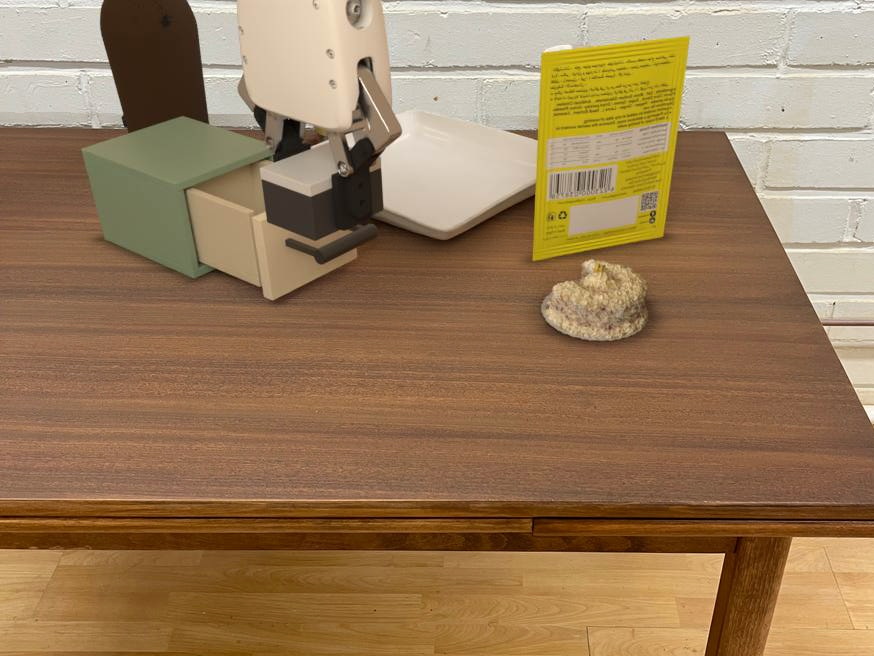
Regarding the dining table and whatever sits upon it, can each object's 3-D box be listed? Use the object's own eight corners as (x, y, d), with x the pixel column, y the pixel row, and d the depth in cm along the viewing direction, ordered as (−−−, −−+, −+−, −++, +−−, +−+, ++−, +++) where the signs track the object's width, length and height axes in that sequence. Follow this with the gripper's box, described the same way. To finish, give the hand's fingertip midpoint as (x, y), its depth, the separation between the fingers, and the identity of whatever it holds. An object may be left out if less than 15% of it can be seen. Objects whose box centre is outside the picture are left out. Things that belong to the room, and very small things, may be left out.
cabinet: (288, 235, 101) (277, 145, 95) (194, 279, 93) (175, 183, 87) (199, 201, 108) (182, 115, 102) (104, 239, 100) (80, 148, 94)
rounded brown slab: (235, 150, 121) (200, -75, 105) (187, 180, 113) (142, -59, 97) (163, 140, 123) (119, -82, 108) (112, 168, 116) (56, -66, 100)
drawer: (396, 272, 93) (392, 194, 88) (312, 318, 86) (302, 236, 81) (265, 222, 102) (254, 149, 97) (179, 260, 95) (162, 183, 90)
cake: (661, 307, 90) (673, 256, 87) (626, 358, 84) (637, 305, 80) (565, 277, 93) (572, 227, 90) (523, 324, 86) (529, 271, 83)
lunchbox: (315, 241, 66) (309, 185, 64) (266, 222, 69) (259, 167, 66) (384, 210, 70) (381, 156, 68) (336, 193, 73) (331, 140, 70)
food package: (660, 235, 102) (687, 34, 89) (665, 239, 101) (693, 37, 88) (530, 259, 97) (538, 51, 85) (534, 263, 96) (544, 54, 84)
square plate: (447, 264, 96) (447, 227, 94) (261, 198, 109) (256, 164, 107) (590, 182, 113) (593, 149, 111) (414, 133, 126) (412, 103, 123)
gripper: (445, -63, 56) (448, 228, 68) (252, -94, 64) (284, 170, 76) (356, -44, 52) (375, 265, 63) (160, -81, 60) (209, 199, 71)
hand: (325, 210), depth 69 cm, fingers closed on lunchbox, 5 cm apart
